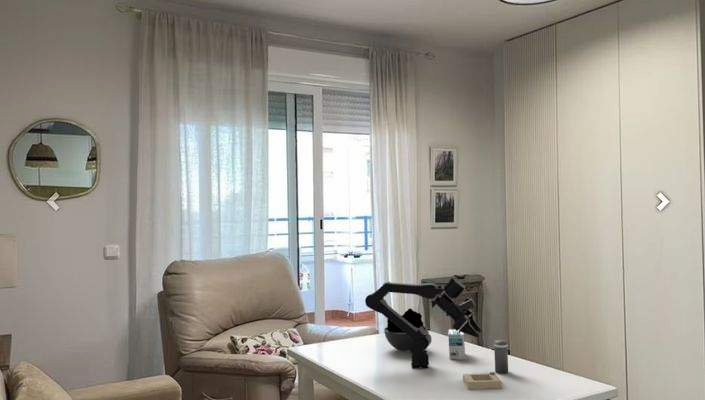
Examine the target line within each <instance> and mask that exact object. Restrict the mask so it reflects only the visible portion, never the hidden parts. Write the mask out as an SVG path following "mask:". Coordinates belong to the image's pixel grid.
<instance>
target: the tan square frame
mask: <svg viewBox="0 0 705 400" xmlns="http://www.w3.org/2000/svg"><path fill="white" fill-rule="evenodd" d="M462 382H463V383H464V385H465V386H466V388H467V389H468V390H481V389H482V390H484V389H485V390H486V389H502V388H503V385H502V380H501V379H500V377H499V376H498V375H497V373H496V372H495V371H490V372H482V373H462Z"/></svg>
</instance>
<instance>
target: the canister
mask: <svg viewBox="0 0 705 400" xmlns="http://www.w3.org/2000/svg"><path fill="white" fill-rule="evenodd" d="M508 345H509V344H508V340H505V339H495V340H493V350H494V351H493V353H494V373H495V374H501V375H506V374H508V373H509V357H508V356H509V355H508Z"/></svg>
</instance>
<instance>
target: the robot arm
mask: <svg viewBox="0 0 705 400" xmlns="http://www.w3.org/2000/svg"><path fill="white" fill-rule="evenodd" d="M465 290H466V286H465V284H463V282H462V281H459V280H458V279H456V278H455V277H451V278H450V280H449V281H448V283H447V284H445V285H438V284H437V283H435V282H426V283H420V284H414V283H402V282H401V283H400V282H391V281H387V282H384V283H383V284H382V286H380V287H379V288H378V289H377V290H376V291H375V292H371V293H370V294H368V295H367V296H366V297H365V300H364V301H365V306H366V307H367V308H369V309H370V310H373V311H374V312H377V313H379V314H381V315H382V316H384V317H385V318H386V319H387V320H388V319H389V320H390V321H391V322H393V323H394V324H395V325H396V326H397V327H399V328H400V329H401V330H402V331H403V332H405V333H406V334H407V335H408V336H409V338H410V339H411V341H412V342H413V343H414V344H413V345H412V347H411V348H410V351H409V352H410V355H411V356H410V357H411V363H410V365H411V369H428V368H429V365H430V363H429V362H430V361H429V354H428V351H427V348H428V347H429V346H430V345H431V343H432V335H431V334H430V331H429V330H428V331H426V330H425V329H424V328H423V327H422V326H421V327H420V328H416V327H414V326H413V325H412V324H410V323H409V322H408V321H407V320H406V319H404V318H403V317H402V316H401V315H402V314H400V313H398V312H397V311H396V310H394V308H393V307H391V306H389V304H388V303H387V300H386V299H385V297H386V296H387V295H388V294H389V293H395V294H396V293H397V294H408V295H417V296H419V297H422V298H426V299H429V300H430V299H431V301H430V303H431V308H435V306H438V308H439V309H441V310H442V311H443V312H444V313H445V316H446V317H449V318H451V319H452V320H453V322H454V323H453V325H452V326H453V329H454V330H456V331H458V330H459V332H463V333H464V334H466V335H469V336H472V337H475V338H479V337H480V335H479V333H481V332H482V329H481V328H480V327H481V326H479V324H478V323H477V322H476V320H475V318H474V312H473V310H472V309H473V308H475V307H476V306H477V304H476V302H475V300H474V299H473V298H470V297H466V298H464V302H462V303H461V304H460V303H458V302H455V301H454V300H453V299H454V298H455V299H458V298H459V297H460V296H461V295H462V293H463V292H464V291H465ZM442 293H443V294H442ZM441 294H442V295H441ZM435 297H436V298H435ZM434 298H435V299H434Z"/></svg>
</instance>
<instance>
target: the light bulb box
mask: <svg viewBox="0 0 705 400" xmlns="http://www.w3.org/2000/svg"><path fill="white" fill-rule="evenodd" d="M459 330H460V329H459ZM459 330H458V331H456V330H455V329H454V328H453V329H451V328H450V329H448V336H447V337H448V353H449V355H448V356H449V358H448V359H449V360H465V359H466V358H465V357H466V348H465V333H463V332H459Z"/></svg>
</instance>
